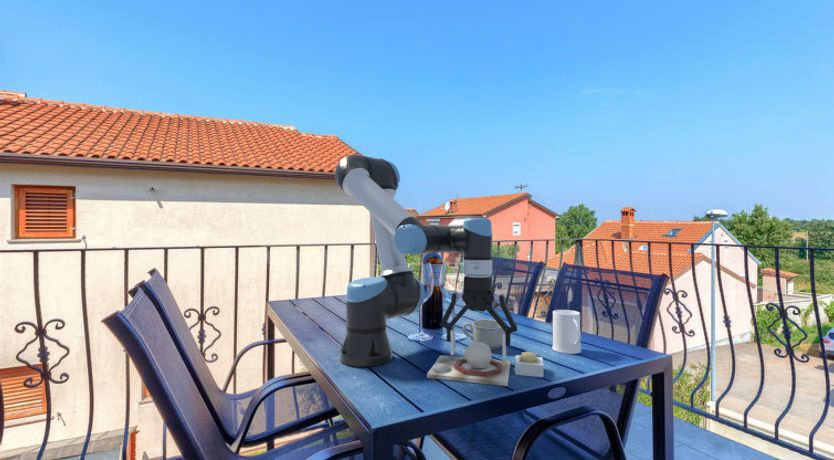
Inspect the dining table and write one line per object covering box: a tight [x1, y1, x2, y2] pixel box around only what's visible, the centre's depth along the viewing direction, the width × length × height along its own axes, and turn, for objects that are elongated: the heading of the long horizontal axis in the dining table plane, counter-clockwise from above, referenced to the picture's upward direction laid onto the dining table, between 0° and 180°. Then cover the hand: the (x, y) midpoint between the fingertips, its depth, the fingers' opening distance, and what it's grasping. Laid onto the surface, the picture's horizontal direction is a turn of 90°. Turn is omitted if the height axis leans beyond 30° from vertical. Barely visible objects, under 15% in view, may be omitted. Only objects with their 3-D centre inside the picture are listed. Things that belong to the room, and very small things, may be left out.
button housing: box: [514, 354, 544, 378], centre depth 102 cm, size 7×7×3 cm
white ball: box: [464, 341, 493, 369], centre depth 102 cm, size 7×7×7 cm
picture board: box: [426, 355, 511, 387], centre depth 102 cm, size 20×16×2 cm
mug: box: [552, 309, 582, 355], centre depth 120 cm, size 12×8×12 cm
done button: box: [520, 351, 538, 363], centre depth 102 cm, size 4×4×2 cm
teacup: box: [461, 318, 505, 351], centre depth 125 cm, size 14×11×8 cm
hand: (478, 355), depth 102 cm, fingers open, 13 cm apart
